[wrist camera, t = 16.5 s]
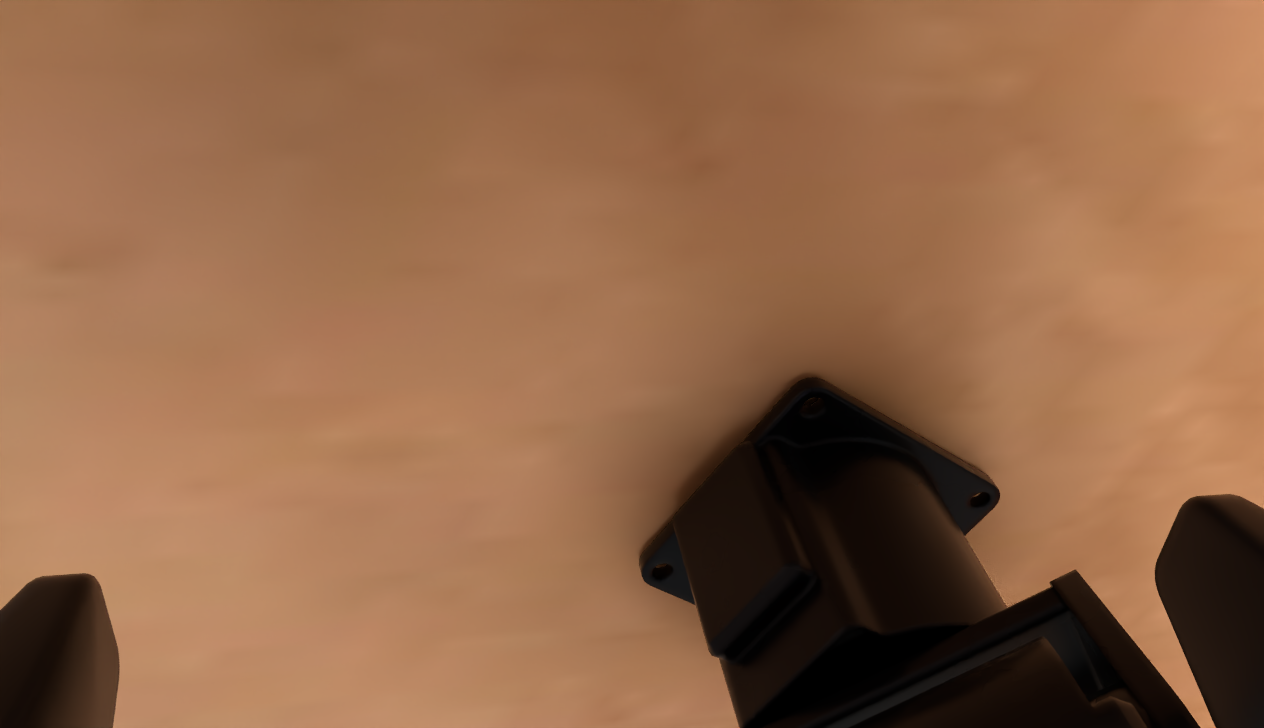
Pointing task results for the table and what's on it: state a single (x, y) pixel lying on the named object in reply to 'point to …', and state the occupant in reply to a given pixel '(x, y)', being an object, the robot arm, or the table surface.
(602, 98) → the table surface
